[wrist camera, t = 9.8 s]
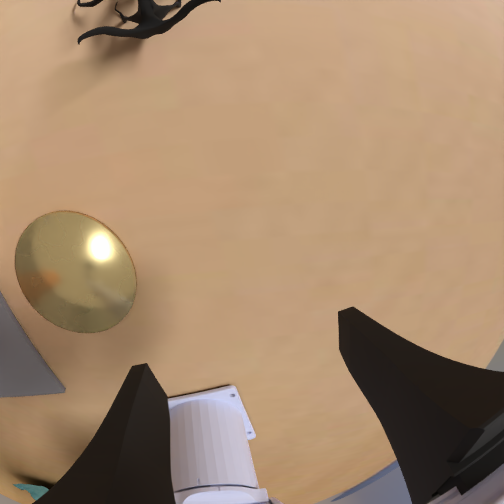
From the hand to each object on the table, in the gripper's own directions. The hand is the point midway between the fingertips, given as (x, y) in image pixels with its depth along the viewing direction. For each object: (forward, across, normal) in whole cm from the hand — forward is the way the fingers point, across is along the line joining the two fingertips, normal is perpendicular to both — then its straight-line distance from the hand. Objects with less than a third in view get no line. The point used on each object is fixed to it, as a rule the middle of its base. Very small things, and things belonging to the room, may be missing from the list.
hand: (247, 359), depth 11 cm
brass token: (+9, +10, -1) cm, 14 cm away
